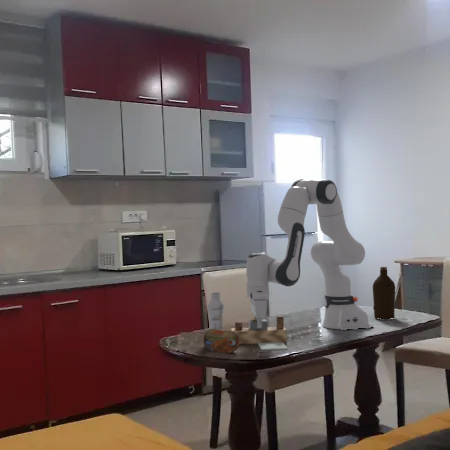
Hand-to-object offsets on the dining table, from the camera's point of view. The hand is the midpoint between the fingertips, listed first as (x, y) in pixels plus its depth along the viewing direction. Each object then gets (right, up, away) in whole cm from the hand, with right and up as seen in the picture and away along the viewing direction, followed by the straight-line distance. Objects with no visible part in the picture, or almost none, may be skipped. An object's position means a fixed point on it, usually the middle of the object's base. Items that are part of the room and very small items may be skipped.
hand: (258, 326), depth 236 cm
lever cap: (0, -1, 0) cm, 1 cm away
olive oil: (+64, -4, +46) cm, 79 cm away
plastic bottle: (-17, -7, 0) cm, 18 cm away
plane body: (0, -6, 0) cm, 6 cm away
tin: (-15, -7, -16) cm, 23 cm away
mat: (+5, -6, -11) cm, 13 cm away
